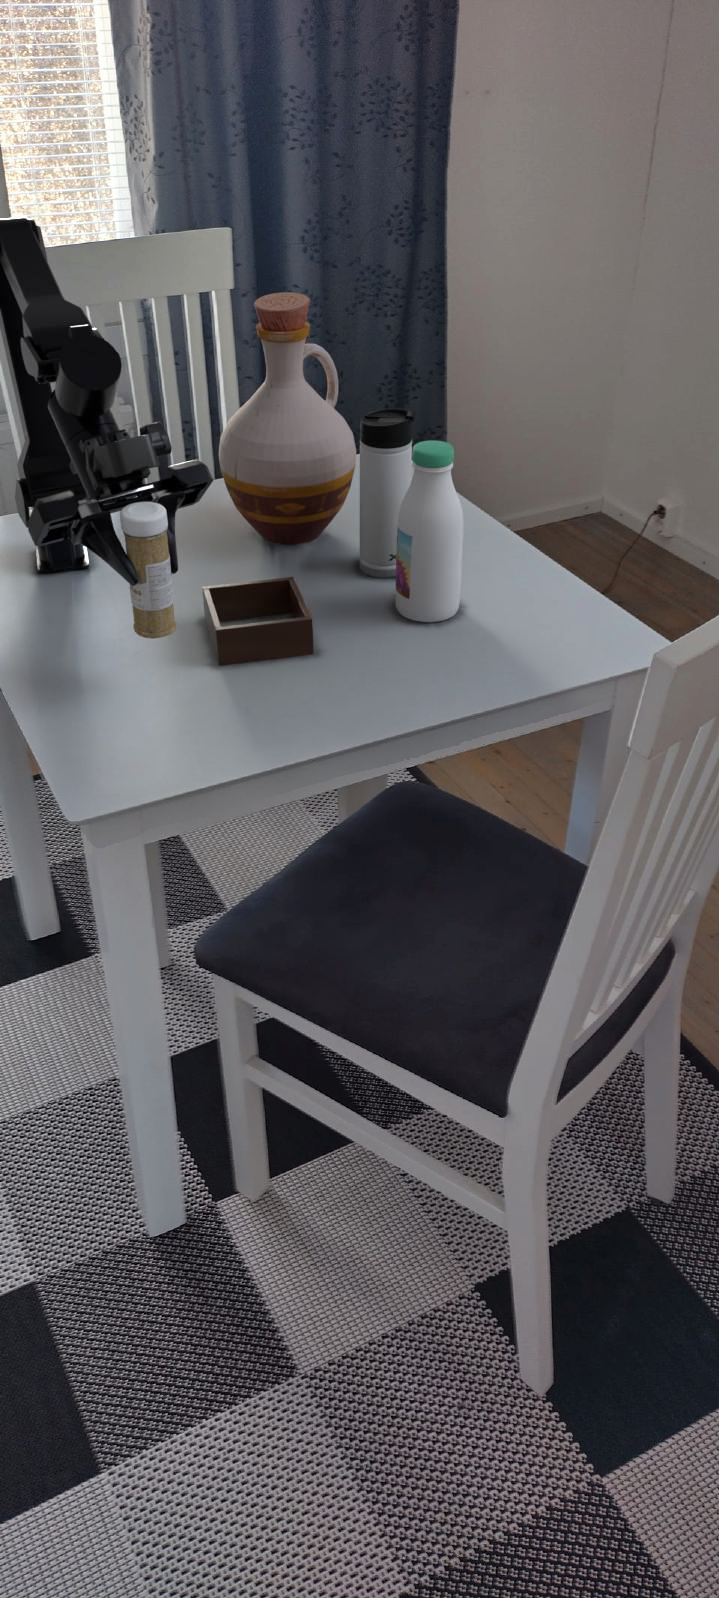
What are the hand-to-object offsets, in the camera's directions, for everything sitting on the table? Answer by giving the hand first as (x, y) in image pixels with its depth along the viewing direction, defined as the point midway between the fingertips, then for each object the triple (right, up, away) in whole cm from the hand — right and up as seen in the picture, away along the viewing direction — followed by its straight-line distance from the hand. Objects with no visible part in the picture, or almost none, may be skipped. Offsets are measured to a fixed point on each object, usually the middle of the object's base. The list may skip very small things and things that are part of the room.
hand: (155, 578), depth 119 cm
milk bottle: (+29, 0, +23) cm, 37 cm away
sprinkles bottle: (-1, -5, +5) cm, 7 cm away
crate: (+9, -4, +17) cm, 20 cm away
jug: (+12, +14, +41) cm, 45 cm away
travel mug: (+24, +7, +32) cm, 41 cm away
